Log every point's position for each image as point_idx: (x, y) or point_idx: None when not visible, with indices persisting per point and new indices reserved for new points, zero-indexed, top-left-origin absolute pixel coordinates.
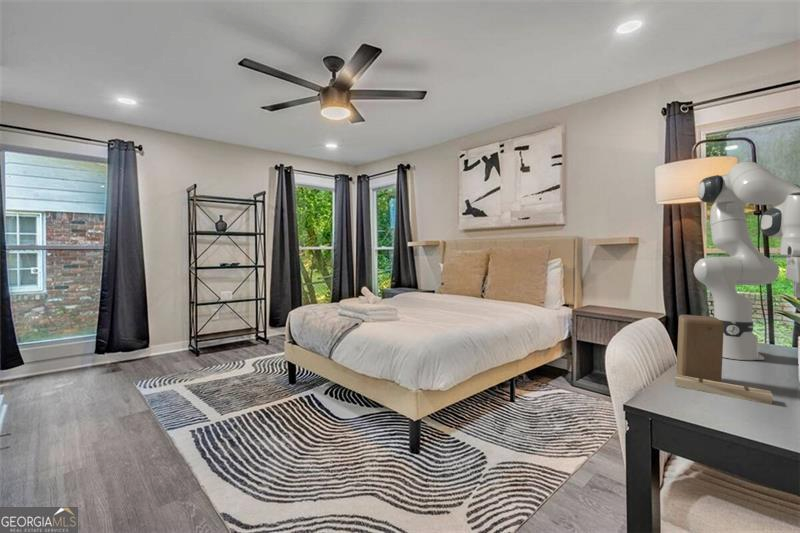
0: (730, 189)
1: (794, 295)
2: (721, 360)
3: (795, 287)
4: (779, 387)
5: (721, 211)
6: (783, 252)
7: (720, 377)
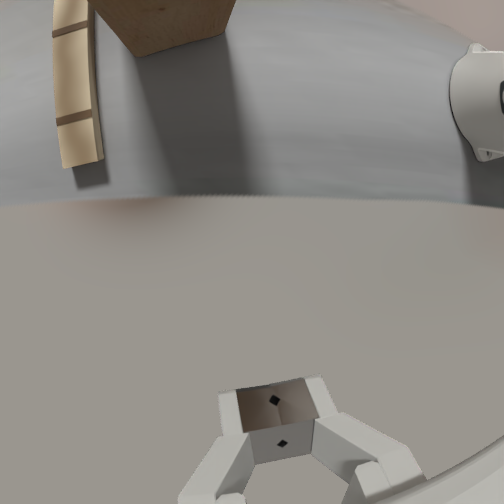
0: None
1: (266, 389)
2: (120, 39)
3: (221, 472)
4: (247, 170)
5: None
6: None
7: (131, 52)
